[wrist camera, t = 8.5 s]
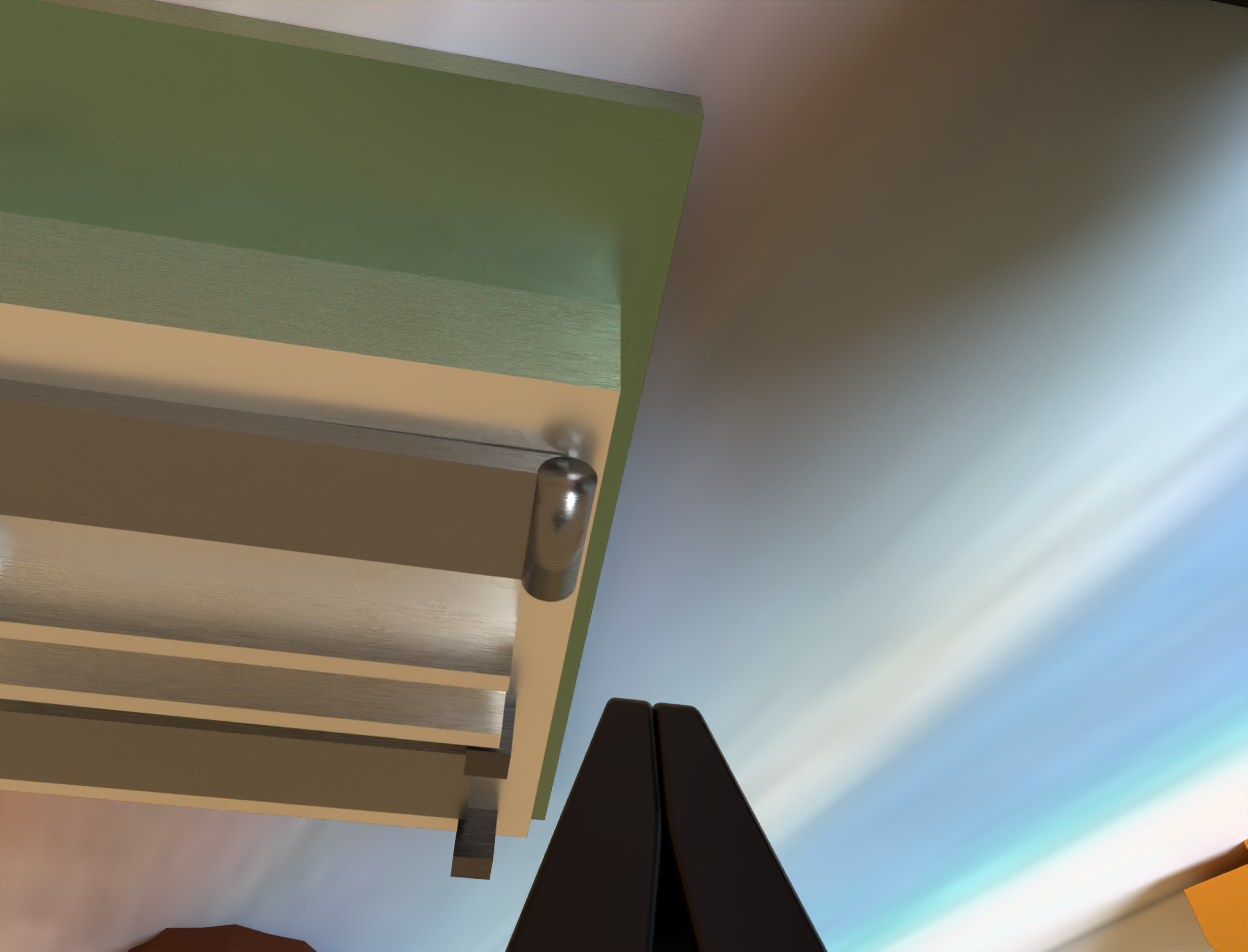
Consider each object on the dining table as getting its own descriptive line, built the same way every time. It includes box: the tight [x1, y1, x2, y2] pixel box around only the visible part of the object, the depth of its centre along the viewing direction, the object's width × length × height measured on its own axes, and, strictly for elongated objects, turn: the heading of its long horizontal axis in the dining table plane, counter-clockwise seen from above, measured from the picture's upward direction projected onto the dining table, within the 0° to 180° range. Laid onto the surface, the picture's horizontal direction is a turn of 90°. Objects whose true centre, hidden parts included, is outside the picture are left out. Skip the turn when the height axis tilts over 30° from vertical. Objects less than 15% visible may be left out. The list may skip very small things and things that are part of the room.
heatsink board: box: [0, 0, 703, 880], centre depth 23 cm, size 16×23×6 cm
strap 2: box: [0, 698, 472, 820], centre depth 24 cm, size 12×3×1 cm, turn 80°
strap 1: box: [0, 379, 598, 602], centre depth 19 cm, size 12×3×1 cm, turn 80°
